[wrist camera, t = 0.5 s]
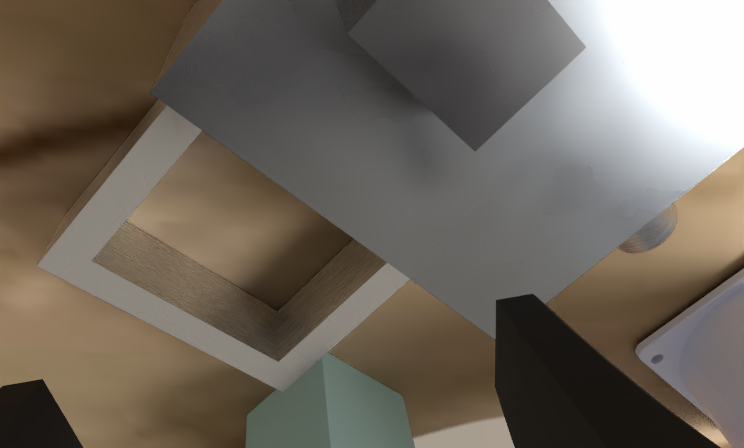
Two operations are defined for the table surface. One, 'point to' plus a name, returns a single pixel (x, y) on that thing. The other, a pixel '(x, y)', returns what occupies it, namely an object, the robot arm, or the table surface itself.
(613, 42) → the silver box with frame
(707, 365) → the robot arm
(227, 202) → the table surface
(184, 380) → the table surface
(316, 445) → the mint cube
